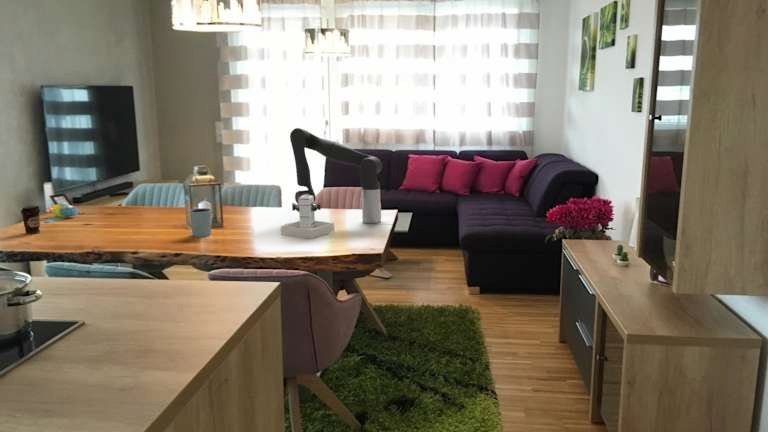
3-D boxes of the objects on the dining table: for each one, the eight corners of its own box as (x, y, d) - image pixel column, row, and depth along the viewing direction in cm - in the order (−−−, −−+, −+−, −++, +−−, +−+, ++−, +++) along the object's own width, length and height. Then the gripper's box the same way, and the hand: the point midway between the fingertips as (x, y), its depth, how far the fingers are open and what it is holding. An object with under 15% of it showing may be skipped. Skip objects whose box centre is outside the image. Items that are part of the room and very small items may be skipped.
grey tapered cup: (193, 237, 301) (191, 212, 298) (188, 233, 310) (187, 209, 307) (215, 235, 305) (213, 210, 303) (210, 231, 314) (208, 207, 312)
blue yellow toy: (66, 198, 366) (90, 199, 364) (67, 213, 368) (91, 214, 366) (32, 207, 339) (58, 208, 337) (33, 223, 341) (59, 224, 339)
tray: (305, 227, 321) (304, 219, 320) (334, 231, 312) (334, 222, 311) (281, 234, 306) (280, 226, 305) (311, 238, 297) (310, 230, 296)
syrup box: (311, 227, 305) (310, 197, 302) (299, 227, 306) (298, 197, 303) (314, 225, 311) (314, 195, 308) (303, 224, 312) (302, 194, 309)
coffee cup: (47, 231, 318) (44, 205, 315) (33, 235, 310) (30, 208, 308) (33, 230, 321) (30, 204, 318) (19, 234, 313) (16, 207, 310)
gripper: (291, 195, 319) (291, 202, 303) (320, 195, 321) (321, 201, 305) (291, 210, 321) (291, 217, 305) (320, 209, 323) (322, 216, 307)
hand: (306, 209), depth 305 cm, fingers closed on syrup box, 7 cm apart
